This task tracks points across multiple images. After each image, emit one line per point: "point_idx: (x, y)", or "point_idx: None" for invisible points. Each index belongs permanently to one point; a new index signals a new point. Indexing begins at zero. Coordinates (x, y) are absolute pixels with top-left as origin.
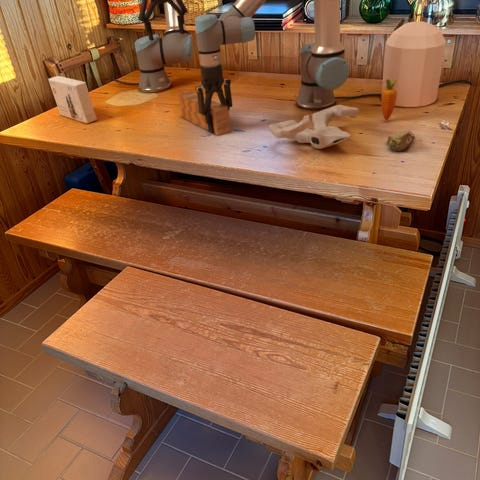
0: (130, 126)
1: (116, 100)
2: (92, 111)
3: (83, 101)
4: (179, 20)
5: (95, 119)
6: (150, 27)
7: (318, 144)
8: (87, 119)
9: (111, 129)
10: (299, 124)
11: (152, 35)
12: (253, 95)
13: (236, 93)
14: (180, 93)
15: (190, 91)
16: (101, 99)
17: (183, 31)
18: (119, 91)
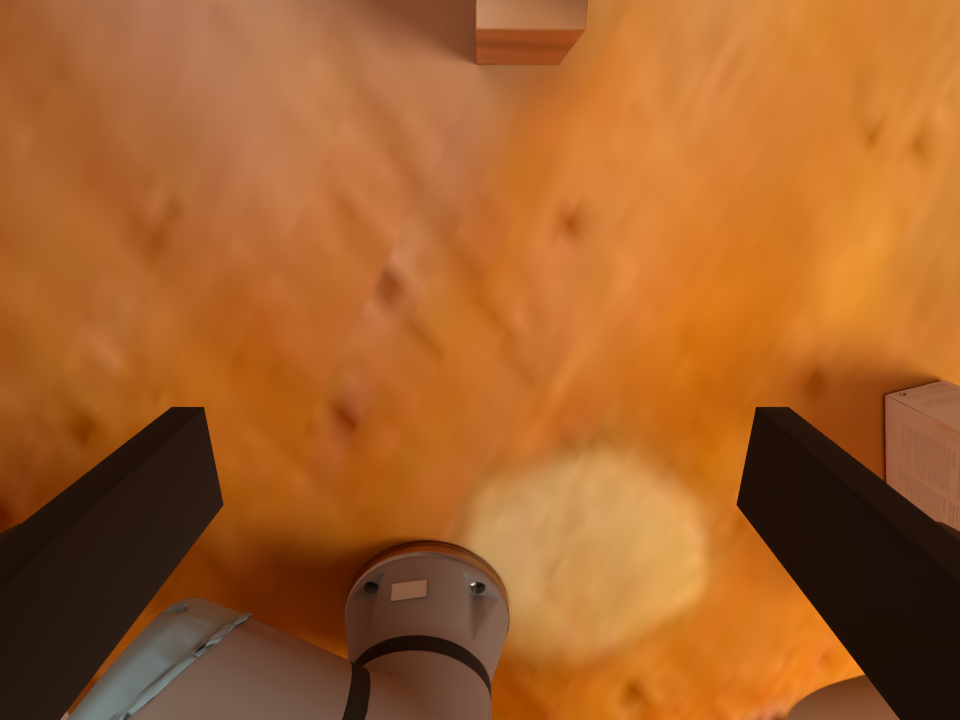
0: (840, 161)
1: (654, 581)
2: (938, 410)
3: None
4: (59, 614)
5: (896, 393)
6: (937, 542)
7: None
8: (955, 388)
9: (928, 202)
10: None
11: (809, 443)
12: (15, 62)
13: (100, 193)
14: (566, 23)
15: (484, 3)
16: (692, 640)
17: (162, 423)
18: (576, 678)
